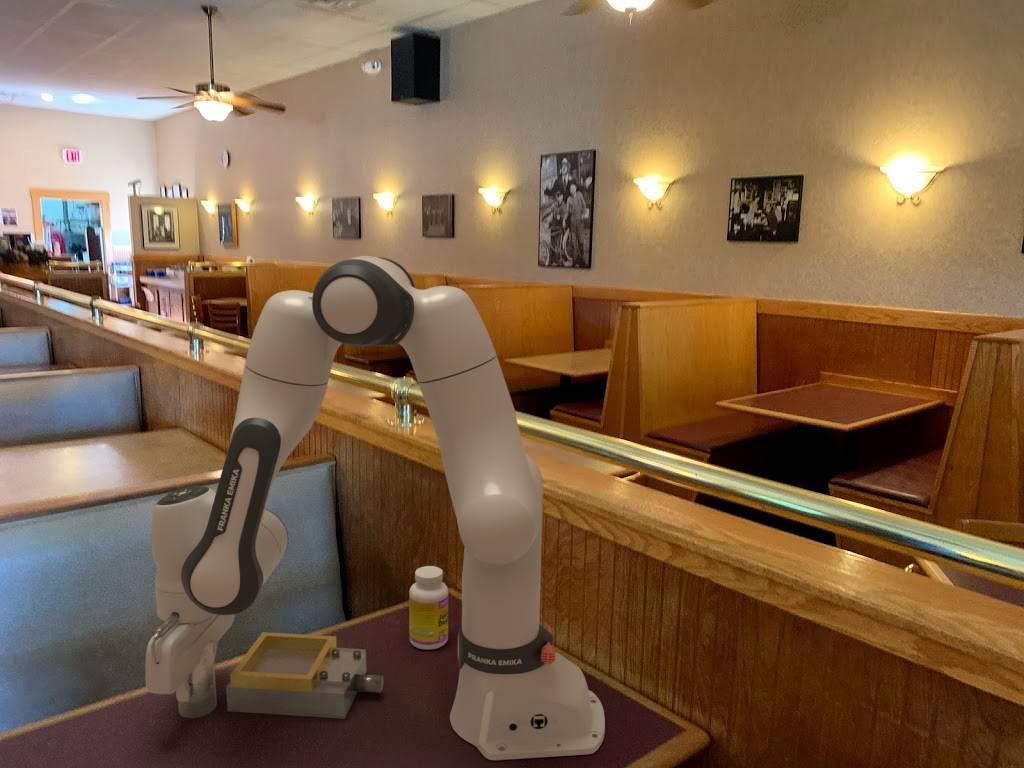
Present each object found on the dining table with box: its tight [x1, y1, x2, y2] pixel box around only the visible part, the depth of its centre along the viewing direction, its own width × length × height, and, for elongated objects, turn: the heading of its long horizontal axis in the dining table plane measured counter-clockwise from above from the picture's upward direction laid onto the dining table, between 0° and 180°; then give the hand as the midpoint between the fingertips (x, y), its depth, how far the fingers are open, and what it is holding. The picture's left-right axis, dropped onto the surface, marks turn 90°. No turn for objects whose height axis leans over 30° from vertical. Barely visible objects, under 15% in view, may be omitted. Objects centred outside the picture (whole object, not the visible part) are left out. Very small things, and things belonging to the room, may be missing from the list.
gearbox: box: [225, 631, 384, 720], centre depth 118 cm, size 22×12×6 cm, turn 86°
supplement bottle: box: [408, 565, 449, 650], centre depth 133 cm, size 7×7×13 cm
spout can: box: [177, 640, 218, 719], centre depth 113 cm, size 7×5×11 cm
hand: (196, 684), depth 114 cm, fingers open, 5 cm apart
